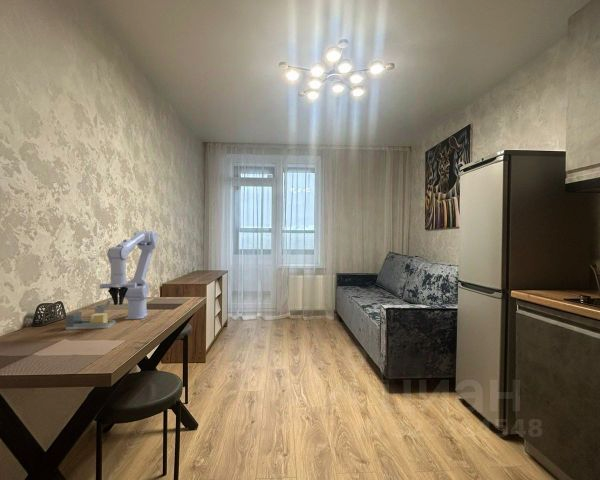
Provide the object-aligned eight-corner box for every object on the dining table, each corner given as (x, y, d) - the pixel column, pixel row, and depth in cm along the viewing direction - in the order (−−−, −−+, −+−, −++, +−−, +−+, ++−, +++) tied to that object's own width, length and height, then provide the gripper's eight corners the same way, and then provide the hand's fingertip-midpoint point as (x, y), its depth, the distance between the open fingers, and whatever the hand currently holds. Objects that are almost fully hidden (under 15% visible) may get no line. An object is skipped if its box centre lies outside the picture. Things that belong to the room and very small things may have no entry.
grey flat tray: (76, 324, 143) (76, 319, 143) (116, 322, 146) (116, 317, 146) (65, 329, 135) (65, 324, 135) (107, 327, 137) (107, 322, 137)
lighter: (94, 316, 157) (94, 300, 157) (95, 315, 159) (95, 299, 158) (111, 315, 160) (111, 299, 160) (111, 314, 162) (111, 298, 162)
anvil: (74, 323, 141) (74, 312, 141) (81, 323, 141) (81, 311, 141) (65, 327, 135) (65, 315, 135) (73, 327, 135) (73, 315, 135)
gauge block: (95, 322, 141) (95, 313, 141) (107, 321, 142) (107, 313, 142) (90, 325, 137) (90, 316, 136) (102, 324, 137) (102, 315, 137)
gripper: (96, 275, 135) (96, 306, 135) (132, 274, 137) (132, 305, 138) (103, 273, 142) (104, 303, 142) (138, 272, 144) (138, 302, 145)
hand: (118, 304), depth 140 cm, fingers closed
